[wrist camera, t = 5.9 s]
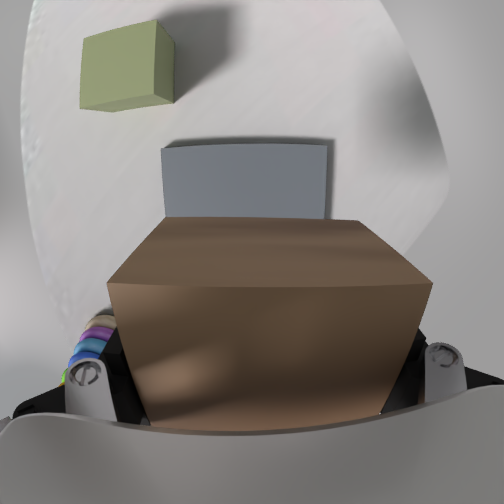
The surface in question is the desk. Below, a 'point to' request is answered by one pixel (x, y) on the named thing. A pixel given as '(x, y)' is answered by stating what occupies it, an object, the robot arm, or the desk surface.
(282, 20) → the desk surface
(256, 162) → the baseplate
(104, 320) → the stacking toy
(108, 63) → the olive block
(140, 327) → the walnut block
